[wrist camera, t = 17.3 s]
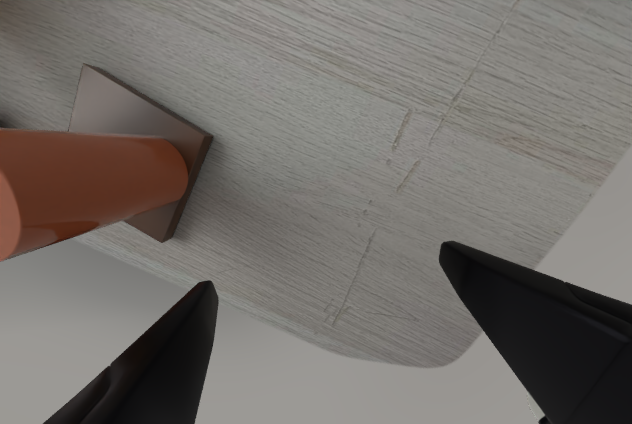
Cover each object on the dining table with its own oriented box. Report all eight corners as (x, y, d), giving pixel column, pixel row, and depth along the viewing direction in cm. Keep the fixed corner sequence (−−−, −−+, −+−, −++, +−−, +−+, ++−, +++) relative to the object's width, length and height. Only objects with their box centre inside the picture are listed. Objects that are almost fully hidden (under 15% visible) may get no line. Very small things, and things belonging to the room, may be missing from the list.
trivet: (213, 136, 19) (205, 135, 18) (171, 238, 22) (162, 243, 20) (99, 67, 18) (82, 62, 17) (71, 180, 21) (56, 182, 20)
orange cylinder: (166, 123, 18) (-48, 97, 8) (200, 192, 19) (47, 241, 9) (110, 151, 19) (-136, 157, 9) (146, 214, 20) (-41, 279, 10)
